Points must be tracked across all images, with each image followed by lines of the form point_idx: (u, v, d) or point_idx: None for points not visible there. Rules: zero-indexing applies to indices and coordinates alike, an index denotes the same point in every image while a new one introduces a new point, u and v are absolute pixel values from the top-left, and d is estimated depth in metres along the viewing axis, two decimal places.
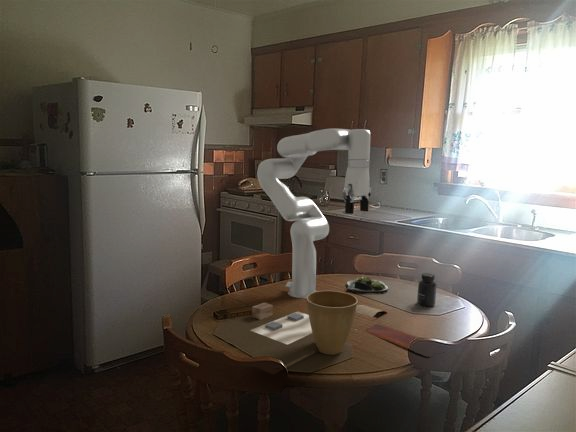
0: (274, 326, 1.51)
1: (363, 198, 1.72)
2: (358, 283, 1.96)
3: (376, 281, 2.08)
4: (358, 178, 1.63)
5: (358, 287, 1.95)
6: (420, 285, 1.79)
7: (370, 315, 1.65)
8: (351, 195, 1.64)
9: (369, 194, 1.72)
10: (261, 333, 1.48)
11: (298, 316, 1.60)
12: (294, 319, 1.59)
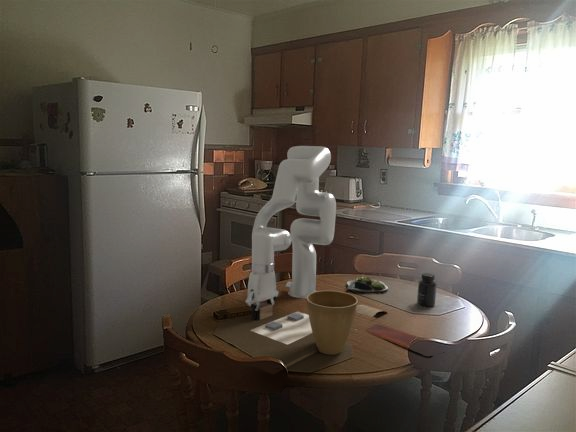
0: (274, 326, 1.51)
1: (268, 302, 1.65)
2: (358, 283, 1.96)
3: (376, 281, 2.08)
4: (260, 284, 1.57)
5: (358, 287, 1.95)
6: (420, 285, 1.79)
7: (370, 315, 1.65)
8: (255, 302, 1.59)
9: (274, 298, 1.66)
10: (261, 333, 1.48)
11: (298, 316, 1.60)
12: (294, 319, 1.59)
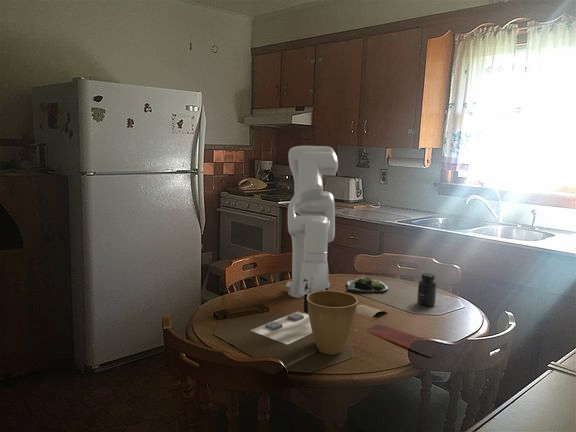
0: (274, 326, 1.51)
1: None
2: (358, 283, 1.96)
3: (376, 281, 2.08)
4: (314, 273, 1.49)
5: (358, 287, 1.95)
6: (420, 285, 1.79)
7: (370, 315, 1.65)
8: (308, 293, 1.51)
9: (326, 289, 1.57)
10: (261, 333, 1.48)
11: (298, 316, 1.60)
12: (294, 319, 1.59)
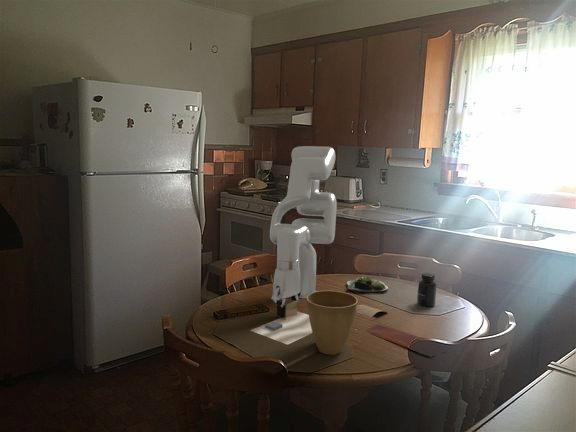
0: (274, 326, 1.51)
1: (292, 298, 1.66)
2: (358, 283, 1.96)
3: (376, 281, 2.08)
4: (286, 280, 1.58)
5: (358, 287, 1.95)
6: (420, 285, 1.79)
7: (369, 315, 1.65)
8: (281, 298, 1.60)
9: (298, 294, 1.66)
10: (261, 333, 1.48)
11: None
12: None
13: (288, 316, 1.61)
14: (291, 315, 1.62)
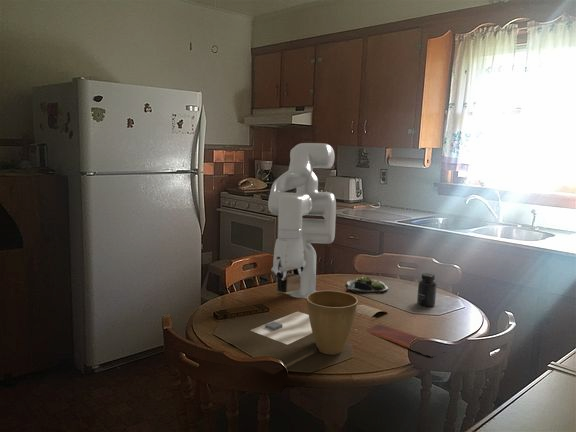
0: (274, 326, 1.51)
1: (295, 272, 1.52)
2: (358, 283, 1.96)
3: (376, 281, 2.08)
4: (288, 251, 1.45)
5: (358, 287, 1.95)
6: (420, 285, 1.79)
7: (369, 315, 1.65)
8: (282, 271, 1.46)
9: (301, 268, 1.53)
10: (261, 333, 1.48)
11: None
12: None
13: (289, 291, 1.48)
14: (293, 290, 1.49)
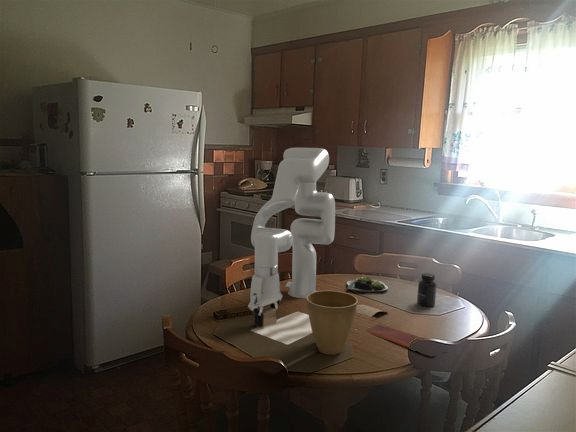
0: None
1: (271, 306, 1.58)
2: (358, 283, 1.96)
3: (376, 281, 2.08)
4: (264, 287, 1.50)
5: (358, 287, 1.95)
6: (420, 285, 1.79)
7: (369, 315, 1.65)
8: None
9: (278, 302, 1.58)
10: (261, 333, 1.48)
11: None
12: None
13: (266, 325, 1.53)
14: (269, 324, 1.54)
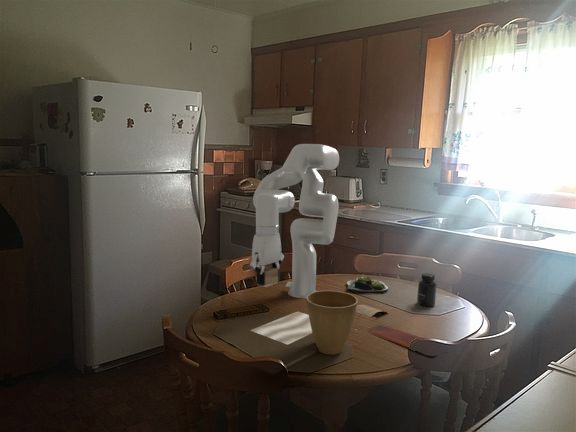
0: None
1: (273, 266, 1.60)
2: (358, 283, 1.96)
3: (376, 281, 2.08)
4: (265, 246, 1.52)
5: (358, 287, 1.95)
6: (420, 285, 1.79)
7: (369, 315, 1.65)
8: (260, 265, 1.54)
9: (280, 262, 1.60)
10: (261, 333, 1.48)
11: None
12: None
13: (268, 284, 1.55)
14: (271, 283, 1.57)
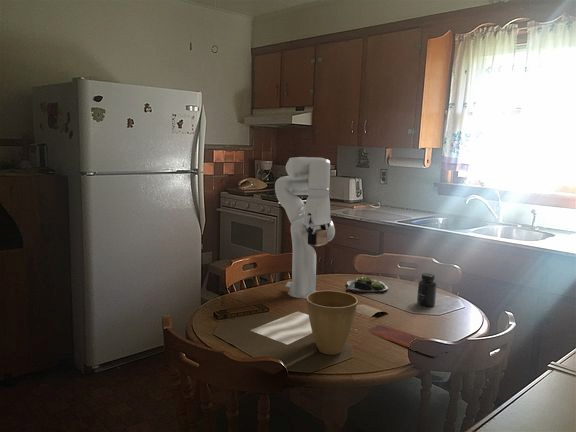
0: None
1: (322, 228, 1.71)
2: (358, 283, 1.96)
3: (376, 281, 2.08)
4: (317, 208, 1.64)
5: (358, 287, 1.95)
6: (420, 285, 1.79)
7: (369, 315, 1.65)
8: (312, 226, 1.65)
9: (328, 225, 1.72)
10: (261, 333, 1.48)
11: None
12: None
13: (319, 243, 1.67)
14: (322, 243, 1.68)
